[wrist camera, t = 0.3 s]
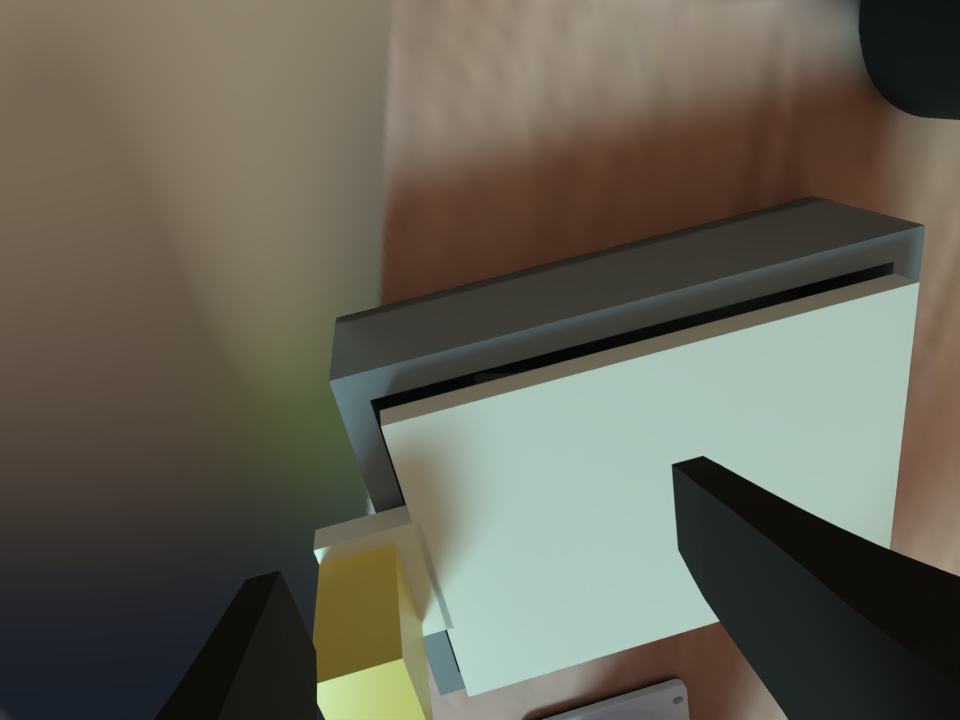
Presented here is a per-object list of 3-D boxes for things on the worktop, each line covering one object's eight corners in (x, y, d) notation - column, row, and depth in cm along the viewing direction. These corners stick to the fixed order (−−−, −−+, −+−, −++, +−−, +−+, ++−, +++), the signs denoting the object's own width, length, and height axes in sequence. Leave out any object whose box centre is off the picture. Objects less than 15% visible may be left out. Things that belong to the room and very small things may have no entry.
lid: (869, 553, 21) (987, 664, 17) (385, 698, 20) (391, 853, 16) (895, 273, 17) (1062, 334, 13) (277, 437, 15) (247, 562, 11)
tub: (804, 485, 26) (887, 561, 22) (427, 594, 25) (440, 695, 21) (813, 196, 20) (925, 225, 16) (335, 318, 19) (329, 380, 15)
